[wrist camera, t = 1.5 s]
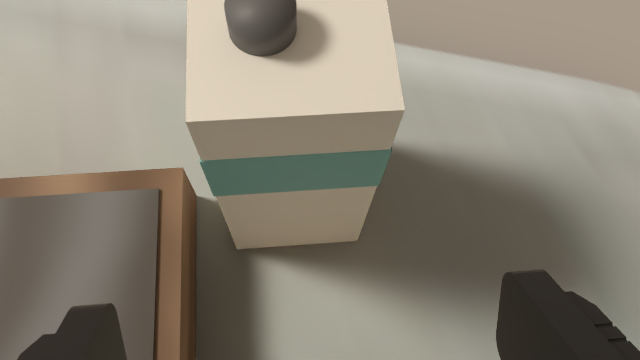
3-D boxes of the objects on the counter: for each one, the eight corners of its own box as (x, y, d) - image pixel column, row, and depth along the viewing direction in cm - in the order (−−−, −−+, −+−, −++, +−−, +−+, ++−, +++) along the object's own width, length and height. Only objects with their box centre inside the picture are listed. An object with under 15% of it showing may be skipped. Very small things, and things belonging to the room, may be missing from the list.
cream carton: (346, 133, 29) (383, -81, 16) (358, 241, 27) (413, 91, 14) (233, 140, 29) (180, -75, 16) (236, 250, 26) (175, 104, 13)
